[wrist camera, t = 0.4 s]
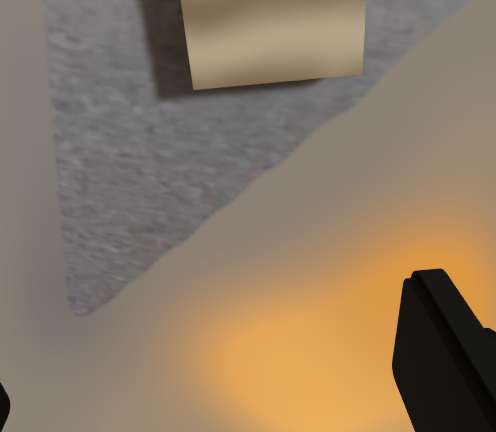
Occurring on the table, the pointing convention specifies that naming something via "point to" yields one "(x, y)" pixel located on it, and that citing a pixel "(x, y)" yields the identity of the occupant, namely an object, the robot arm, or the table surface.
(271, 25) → the maple block
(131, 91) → the table surface
